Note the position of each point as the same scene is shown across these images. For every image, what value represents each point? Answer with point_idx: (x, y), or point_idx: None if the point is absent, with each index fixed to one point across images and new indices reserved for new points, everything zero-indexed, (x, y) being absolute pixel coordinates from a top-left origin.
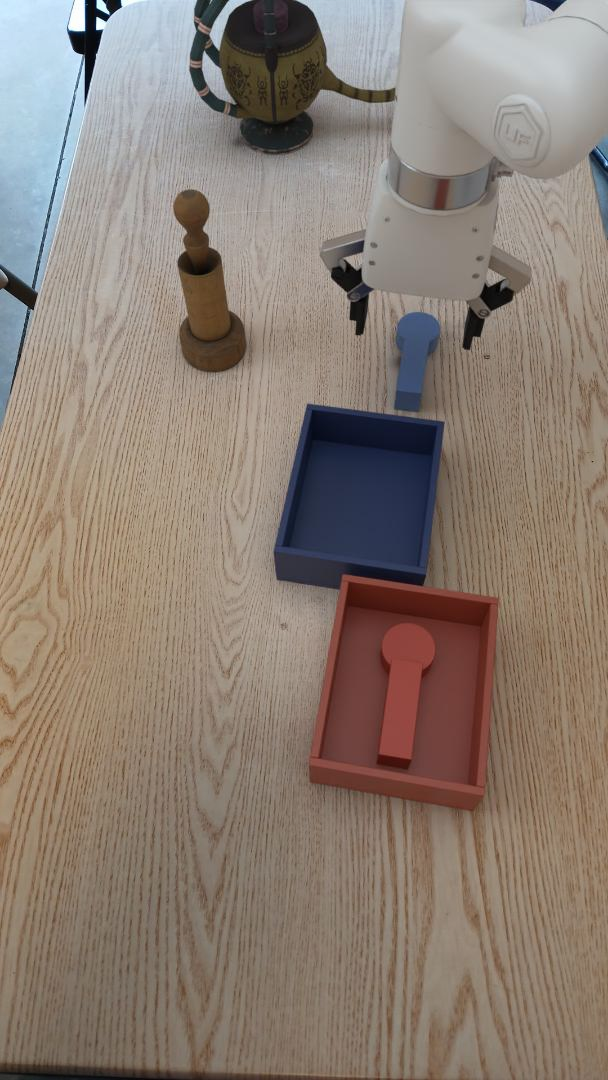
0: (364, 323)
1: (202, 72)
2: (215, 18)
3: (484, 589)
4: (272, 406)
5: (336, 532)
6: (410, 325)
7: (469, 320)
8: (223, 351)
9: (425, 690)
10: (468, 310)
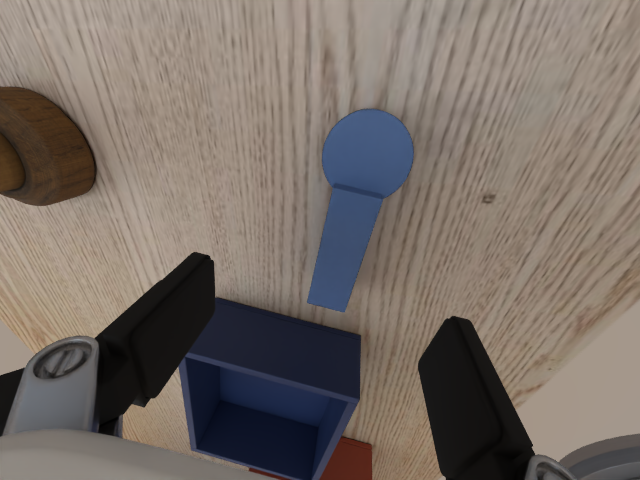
0: (201, 323)
1: None
2: None
3: (375, 430)
4: (165, 254)
5: (256, 385)
6: (349, 153)
7: (442, 471)
8: (46, 201)
9: None
10: (464, 379)
